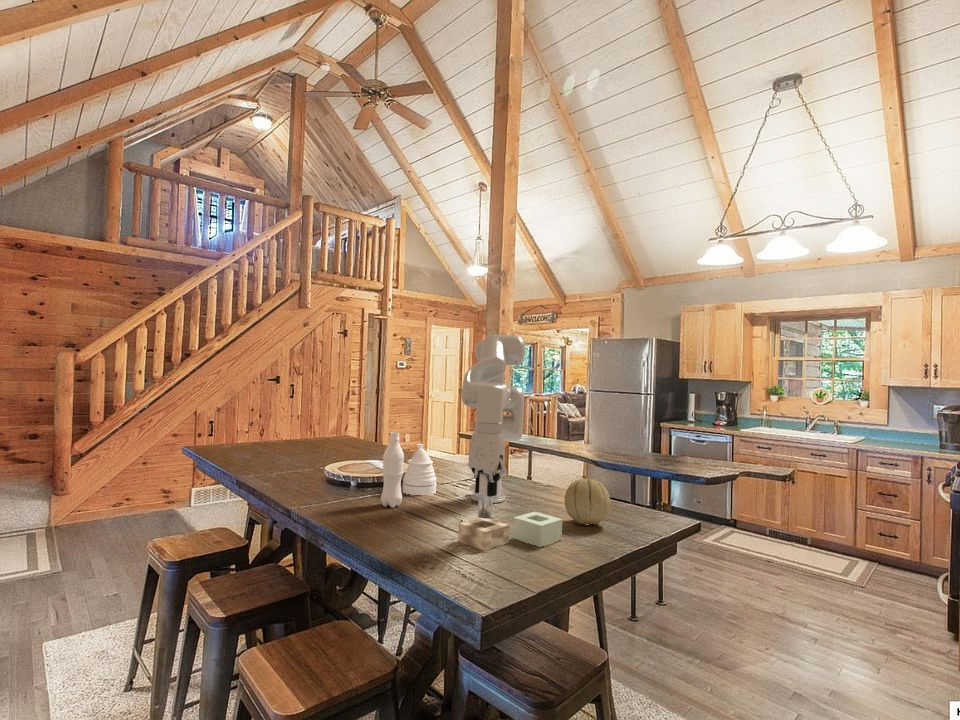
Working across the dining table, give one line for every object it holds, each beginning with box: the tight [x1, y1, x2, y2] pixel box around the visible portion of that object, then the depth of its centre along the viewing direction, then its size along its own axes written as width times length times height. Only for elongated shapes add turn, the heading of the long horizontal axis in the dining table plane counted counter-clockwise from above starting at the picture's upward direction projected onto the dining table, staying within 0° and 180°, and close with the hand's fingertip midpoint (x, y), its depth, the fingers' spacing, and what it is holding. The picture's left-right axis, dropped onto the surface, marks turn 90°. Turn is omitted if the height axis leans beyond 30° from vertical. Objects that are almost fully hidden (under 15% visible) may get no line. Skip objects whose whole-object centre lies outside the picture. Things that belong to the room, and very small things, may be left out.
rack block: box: [512, 511, 563, 548], centre depth 147 cm, size 10×10×6 cm
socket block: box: [457, 517, 511, 552], centre depth 143 cm, size 10×10×5 cm
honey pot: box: [402, 443, 437, 496], centre depth 199 cm, size 13×13×18 cm
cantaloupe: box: [564, 475, 611, 525], centre depth 165 cm, size 15×15×15 cm
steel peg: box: [477, 472, 494, 519], centre depth 143 cm, size 4×4×12 cm
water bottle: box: [380, 431, 405, 508], centre depth 177 cm, size 7×7×25 cm
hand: (485, 493), depth 143 cm, fingers closed on steel peg, 4 cm apart
